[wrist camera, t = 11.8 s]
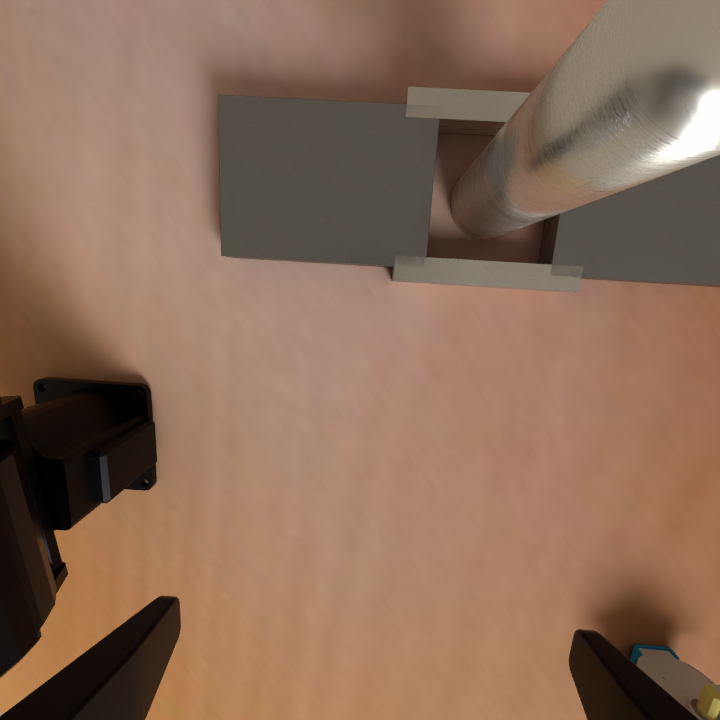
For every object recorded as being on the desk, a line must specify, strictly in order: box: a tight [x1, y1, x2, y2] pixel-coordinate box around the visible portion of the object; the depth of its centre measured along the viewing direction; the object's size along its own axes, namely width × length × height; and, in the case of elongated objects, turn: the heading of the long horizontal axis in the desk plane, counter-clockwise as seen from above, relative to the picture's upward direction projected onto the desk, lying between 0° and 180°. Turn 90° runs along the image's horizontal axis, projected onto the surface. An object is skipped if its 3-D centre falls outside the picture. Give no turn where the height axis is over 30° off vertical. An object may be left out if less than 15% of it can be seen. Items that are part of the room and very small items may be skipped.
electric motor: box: [630, 644, 720, 720], centre depth 21 cm, size 7×5×5 cm
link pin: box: [451, 0, 720, 239], centre depth 12 cm, size 4×4×13 cm
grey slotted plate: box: [218, 87, 720, 292], centre depth 18 cm, size 26×8×2 cm, turn 87°
